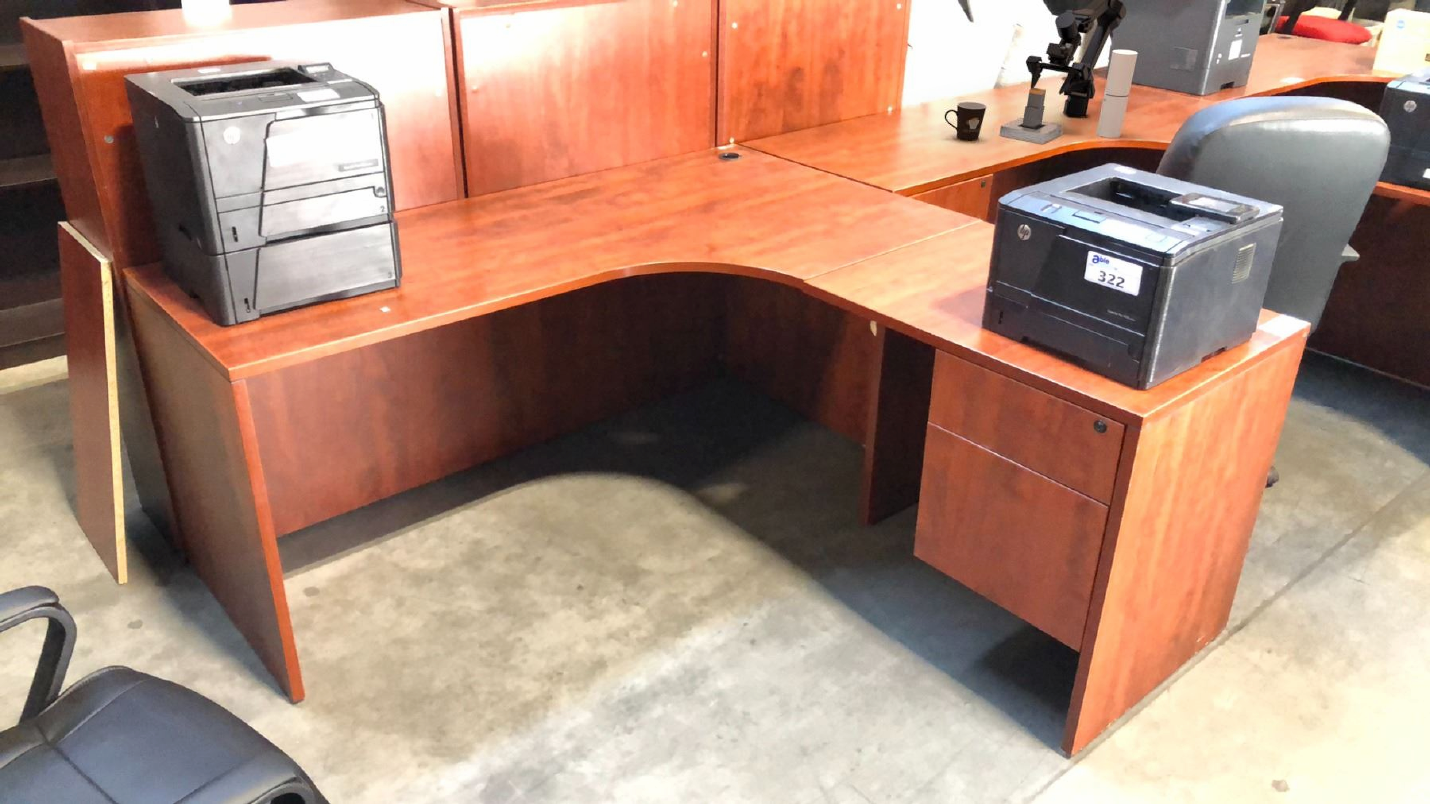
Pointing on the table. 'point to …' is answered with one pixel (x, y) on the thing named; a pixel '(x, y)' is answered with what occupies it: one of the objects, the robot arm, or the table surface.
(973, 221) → the table surface
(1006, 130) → the silver square socket base
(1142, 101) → the table surface
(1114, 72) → the cylindrical container
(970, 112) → the coffee mug
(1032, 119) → the grey orange-tipped tall block
